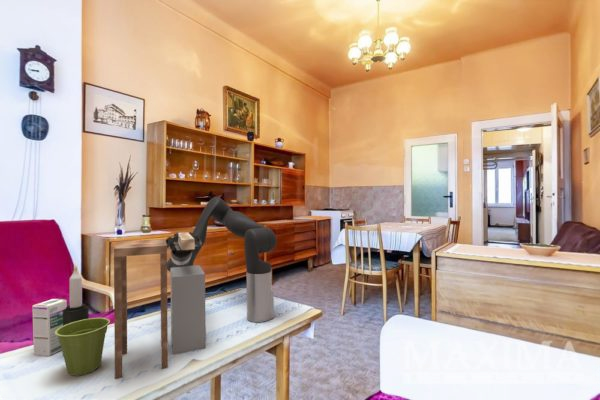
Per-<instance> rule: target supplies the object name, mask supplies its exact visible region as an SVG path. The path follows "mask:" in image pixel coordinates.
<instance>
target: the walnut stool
mask: <svg viewBox="0 0 600 400" xmlns="http://www.w3.org/2000/svg"><path fill="white" fill-rule="evenodd" d="M166 239H167V238H165V239H164V238H163V239H148V240H130V241H119V243H118V244H117V245H116V246H115V247H114V248H113V290H114V291H113V293H114V294H113V295H114V296H113V304H114V305H113V306H114V307H113V308H114V309H113V310H114V312H113V313H114V315H113V317H114V329H113V331H114V379H115V380H118V379H122V378H123V374H124V373H123V355H126V354H128V297H127V296H128V291H127V290H128V280H127V279H128V275H127V273H128V269H127V267H128V265H127V264H128V263H127V257H132V256H145V255H146V256H148V255H159V257H160V261H159V262H160V271H159V273H160V347H161V349H160V350H161V352H160V353H161V370H162V369H168V368H169V354H168V353H169V349H168V343H169V342H168V341H169V339H168V338H169V337H168V333H169V332H168V331H169V330H168V327H169V325H168V322H169V321H168V270H167V262H168V248H167V244H166Z"/></svg>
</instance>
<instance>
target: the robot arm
mask: <svg viewBox="0 0 600 400" xmlns="http://www.w3.org/2000/svg"><path fill="white" fill-rule="evenodd" d="M211 217H212V218H213V219H214V220H215V221H216V222H217V223H220V224H223V225H224V227H225V228H226V230H228V231H229V232H230V233H231V234H233V235H234V236H236V237H239V238H242V239H243V240H244V241H243V244H244V245H243V246H244V260H245V266H246V267H245V268H246V320H247V321H248V322H253V323H263V322H268V321H270V320H272V319H274V318H275V316H274V315H275V314H274V313H275V312H274V311H275V307H274V306H275V305H274V301H275V300H274V299H275V298H274V296H275V294H274V292H273V290H272V287H273V286H272V284H273V283H272V282H273V281H272V277H273V276H272V263H270V262H268V261H266V260H265V261H264V260H262V259H260V254H263V253H269V252H273V251H274V250H275V248H276V247H277V244H278V243H277V242H278V240H277V236H276V234H275V232H274V231H273V230H272V229H271V228H269V227H267V226H265V225H262V224H260V223H258V222H256V221H255V220H253V219H252V218H249V216H247V215H246V214H244V213H242V212H241V211H234V210H233V209H232V208H231V207H230V206H229V204H227V202H226V201H224V200H223V199H222V198H221V197H219V196H214V197H212V198H211V199H210V200H209V201H208V202H207V204H206V205H205V206H204V208H203V210H202V212H201V214H200V217H199V218H198V221H197V222H196V225H195V227H194V229H193V231H188V233H189V234H190V235H191V236H192V237H193V238H194V239H195V249H192V250H181V248H180V246H179V244H178V235H179V233H180V232H179V231H176V232H175V233H174V234H173V237H172V236H169V237H167V238H165V239H166V244H167V249H169V250H170V258H169V259H167V272H170V268H174V267H185V266H194V263H195V261H196V258H197V256H198V254H199V253H200V251H201V249H202V248H203V246H204V244H205V243H206V239H207V231H208V225H209V221H210V219H211Z"/></svg>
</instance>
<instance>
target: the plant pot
mask: <svg viewBox="0 0 600 400" xmlns="http://www.w3.org/2000/svg"><path fill="white" fill-rule="evenodd" d="M110 323H111V320H110V319H109V318H107V317H92V318H91V317H90V318H89V319H83V320H79V321H75V322H72V323H69V324H66V325H64V326H62V327H60V328H58V329H57V330H56V331H55V335H56V336H58V339H59V343H60V344H61V348H62V350H61V351H62V354H63V355H62V356H63V359H64V360H63V361H64V365H65V368H66V372H67V375H69V376H73V375H74V376H76V377H77V376H83V375H85V374H89V373H91V372H93V371H95V370H96V369H97V368H99V367H100V366H101V365H102V358H103V351H104V345H105V338H106V334H107V331H108V326H109V325H110Z"/></svg>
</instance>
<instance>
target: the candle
mask: <svg viewBox="0 0 600 400" xmlns="http://www.w3.org/2000/svg"><path fill="white" fill-rule="evenodd" d="M89 314H90V311H89V305H88V306H87V305H86V303H83V277H82V275H81V274H80V272H79V270H78V266H76V265H75V266H74V267H73V272H72V274H71V276H70V277H69V305H67V307H66V309H64V310H63V326H64V325H66V324H69V323H72V322H75V321H79V320H83V319H90V318H89V317H90V315H89Z"/></svg>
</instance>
